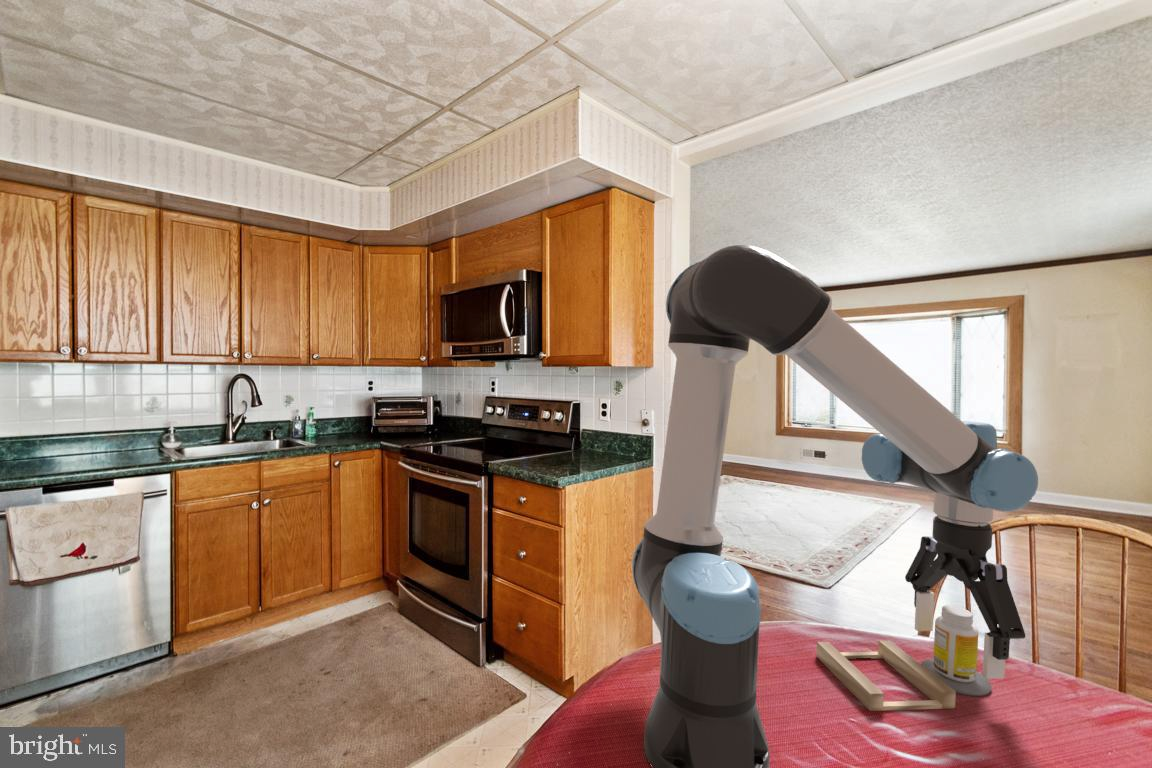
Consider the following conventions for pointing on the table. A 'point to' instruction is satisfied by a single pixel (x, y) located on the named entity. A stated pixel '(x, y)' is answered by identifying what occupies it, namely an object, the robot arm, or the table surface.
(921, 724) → the table surface
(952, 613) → the supplement bottle
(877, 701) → the open wooden frame
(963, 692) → the coaster
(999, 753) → the table surface
